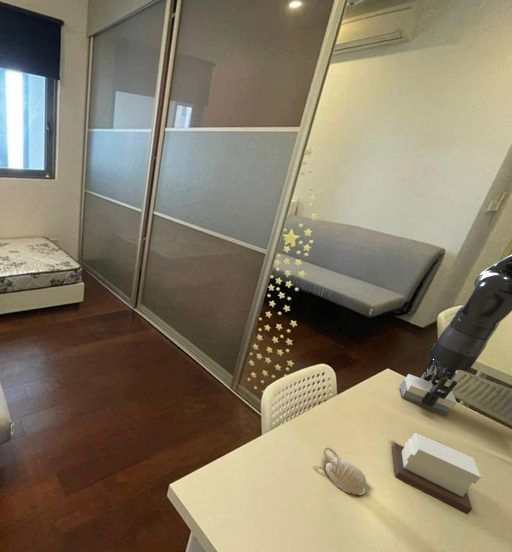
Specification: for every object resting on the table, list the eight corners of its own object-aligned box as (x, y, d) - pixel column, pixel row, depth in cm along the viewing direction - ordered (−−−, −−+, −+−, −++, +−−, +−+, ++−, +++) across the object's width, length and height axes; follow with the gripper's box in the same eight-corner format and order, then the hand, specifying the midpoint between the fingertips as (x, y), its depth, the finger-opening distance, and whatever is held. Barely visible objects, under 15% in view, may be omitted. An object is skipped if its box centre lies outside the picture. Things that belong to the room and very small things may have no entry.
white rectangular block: (447, 395, 85) (451, 389, 84) (452, 408, 80) (456, 402, 80) (404, 379, 89) (408, 373, 89) (407, 390, 85) (410, 385, 84)
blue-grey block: (440, 407, 86) (448, 396, 85) (444, 419, 82) (452, 408, 81) (396, 389, 91) (403, 379, 89) (398, 400, 87) (405, 389, 85)
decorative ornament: (358, 502, 60) (370, 484, 58) (312, 467, 66) (322, 449, 64) (365, 490, 62) (377, 473, 60) (320, 457, 68) (330, 440, 66)
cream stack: (457, 478, 67) (477, 453, 64) (467, 514, 60) (491, 489, 57) (391, 447, 73) (407, 423, 70) (395, 476, 66) (412, 452, 63)
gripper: (488, 367, 71) (448, 421, 78) (471, 339, 82) (438, 389, 89) (444, 352, 75) (409, 405, 82) (433, 328, 86) (404, 376, 93)
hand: (424, 396), depth 85 cm, fingers closed on white rectangular block, 6 cm apart
